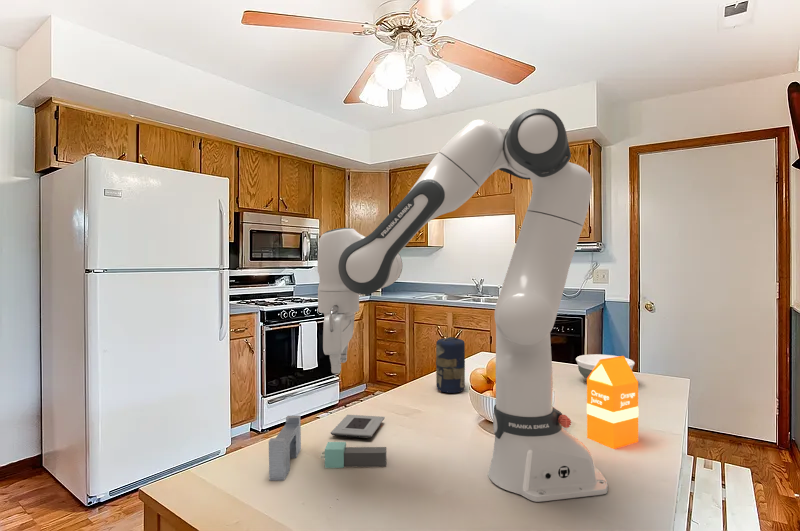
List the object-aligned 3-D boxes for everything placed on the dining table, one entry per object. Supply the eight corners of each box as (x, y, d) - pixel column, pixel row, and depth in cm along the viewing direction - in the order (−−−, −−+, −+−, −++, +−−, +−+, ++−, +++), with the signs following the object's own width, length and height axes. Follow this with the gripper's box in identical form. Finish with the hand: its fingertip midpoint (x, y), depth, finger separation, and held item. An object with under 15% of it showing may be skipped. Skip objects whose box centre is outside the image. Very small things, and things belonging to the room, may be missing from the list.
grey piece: (300, 449, 109) (300, 415, 109) (284, 480, 94) (283, 441, 94) (288, 449, 109) (287, 415, 109) (269, 480, 94) (268, 441, 94)
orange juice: (639, 442, 111) (638, 358, 110) (613, 449, 107) (613, 362, 106) (610, 431, 118) (610, 352, 117) (586, 437, 114) (585, 356, 113)
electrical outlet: (371, 443, 113) (371, 434, 112) (330, 440, 115) (330, 431, 115) (384, 424, 125) (384, 415, 125) (347, 422, 128) (347, 413, 128)
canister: (432, 388, 158) (431, 335, 157) (457, 385, 161) (457, 333, 160) (443, 396, 149) (442, 340, 148) (470, 393, 152) (469, 338, 151)
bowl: (587, 391, 152) (587, 366, 152) (568, 376, 171) (568, 354, 170) (645, 391, 151) (645, 366, 151) (620, 376, 170) (620, 354, 170)
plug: (386, 459, 103) (386, 441, 103) (385, 467, 99) (385, 449, 99) (322, 459, 103) (322, 442, 103) (319, 468, 99) (319, 449, 99)
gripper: (347, 308, 90) (348, 379, 90) (358, 298, 110) (358, 356, 111) (314, 309, 90) (315, 380, 90) (331, 299, 110) (332, 357, 111)
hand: (339, 367), depth 101 cm, fingers open, 8 cm apart
